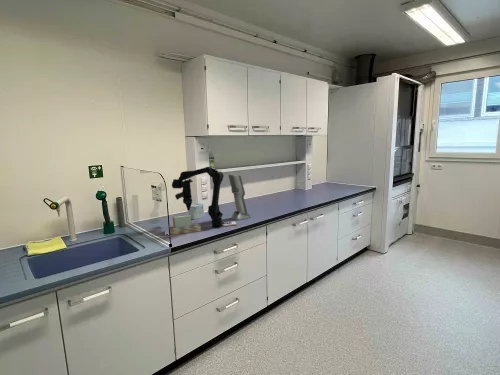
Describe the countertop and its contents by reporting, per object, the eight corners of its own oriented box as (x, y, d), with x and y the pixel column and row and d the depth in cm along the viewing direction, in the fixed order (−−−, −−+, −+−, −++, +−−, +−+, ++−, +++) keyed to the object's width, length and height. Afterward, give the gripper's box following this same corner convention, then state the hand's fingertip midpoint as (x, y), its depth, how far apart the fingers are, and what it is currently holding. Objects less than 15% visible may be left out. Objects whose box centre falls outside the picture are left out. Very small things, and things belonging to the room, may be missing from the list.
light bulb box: (199, 215, 225) (198, 203, 223) (204, 216, 221) (203, 203, 219) (188, 218, 217) (187, 205, 215) (194, 219, 212) (193, 206, 211)
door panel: (191, 227, 187) (190, 215, 185) (191, 228, 185) (190, 216, 183) (173, 229, 184) (172, 217, 183) (173, 230, 182) (172, 217, 181)
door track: (200, 227, 192) (200, 222, 191) (201, 231, 183) (200, 226, 182) (165, 231, 186) (165, 226, 186) (164, 235, 178) (164, 230, 177)
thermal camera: (229, 217, 214) (226, 174, 208) (242, 214, 221) (240, 172, 215) (237, 220, 204) (234, 175, 199) (251, 217, 211) (249, 173, 206)
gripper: (175, 187, 201) (177, 207, 204) (174, 191, 183) (176, 213, 186) (190, 186, 204) (192, 206, 206) (191, 190, 186) (192, 212, 188)
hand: (188, 209), depth 196 cm, fingers open, 9 cm apart
